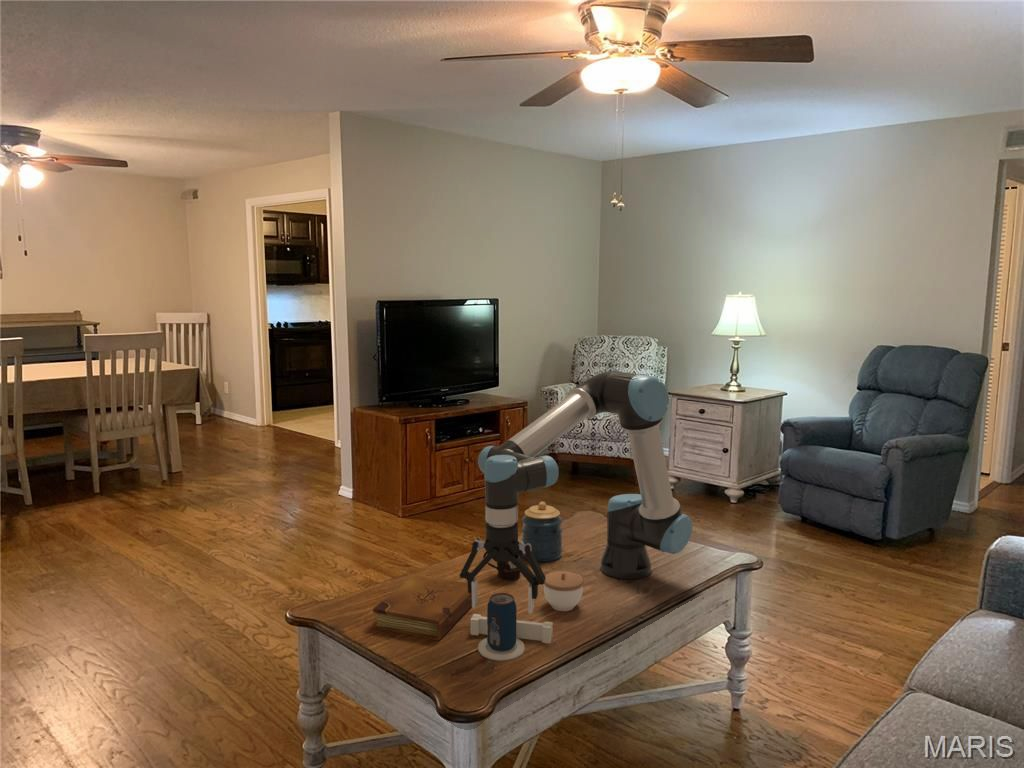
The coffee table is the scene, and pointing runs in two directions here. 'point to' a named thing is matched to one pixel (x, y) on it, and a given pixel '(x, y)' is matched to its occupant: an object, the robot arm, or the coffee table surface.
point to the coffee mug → (507, 568)
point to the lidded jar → (563, 590)
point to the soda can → (501, 622)
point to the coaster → (501, 656)
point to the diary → (424, 607)
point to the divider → (517, 629)
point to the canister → (543, 532)
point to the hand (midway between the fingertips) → (502, 608)
